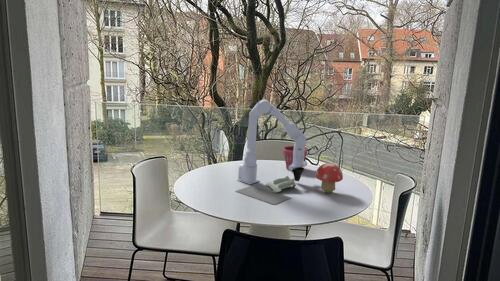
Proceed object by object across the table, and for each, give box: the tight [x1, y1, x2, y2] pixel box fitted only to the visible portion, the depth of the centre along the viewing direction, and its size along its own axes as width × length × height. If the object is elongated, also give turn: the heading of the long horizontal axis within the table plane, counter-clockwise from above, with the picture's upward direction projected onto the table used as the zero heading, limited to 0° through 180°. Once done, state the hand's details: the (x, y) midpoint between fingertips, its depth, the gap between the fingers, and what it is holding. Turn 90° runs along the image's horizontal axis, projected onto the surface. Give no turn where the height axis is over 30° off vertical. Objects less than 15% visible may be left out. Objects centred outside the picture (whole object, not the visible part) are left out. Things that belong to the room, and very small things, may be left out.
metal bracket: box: [265, 175, 298, 193], centre depth 190 cm, size 14×6×15 cm
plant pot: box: [282, 145, 308, 172], centre depth 225 cm, size 14×14×13 cm
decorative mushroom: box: [315, 162, 344, 194], centre depth 185 cm, size 13×13×15 cm
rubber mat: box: [235, 184, 292, 206], centre depth 180 cm, size 24×13×1 cm, turn 49°
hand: (297, 180), depth 199 cm, fingers closed
